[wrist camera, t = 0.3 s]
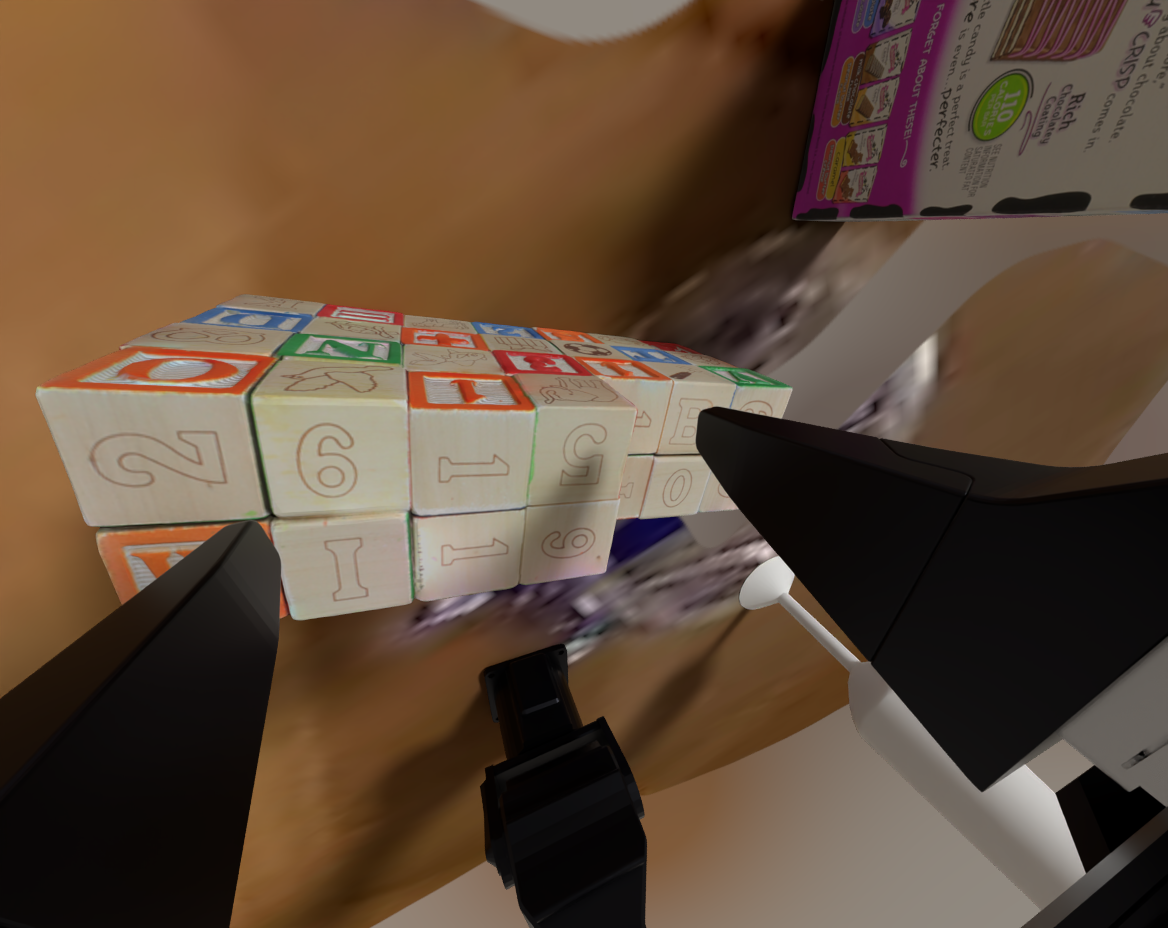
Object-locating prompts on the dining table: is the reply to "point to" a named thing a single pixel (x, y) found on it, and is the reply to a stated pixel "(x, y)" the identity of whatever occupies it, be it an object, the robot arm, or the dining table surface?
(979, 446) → the dining table surface
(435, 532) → the stack of blocks
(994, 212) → the candy bar box
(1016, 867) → the champagne flute
